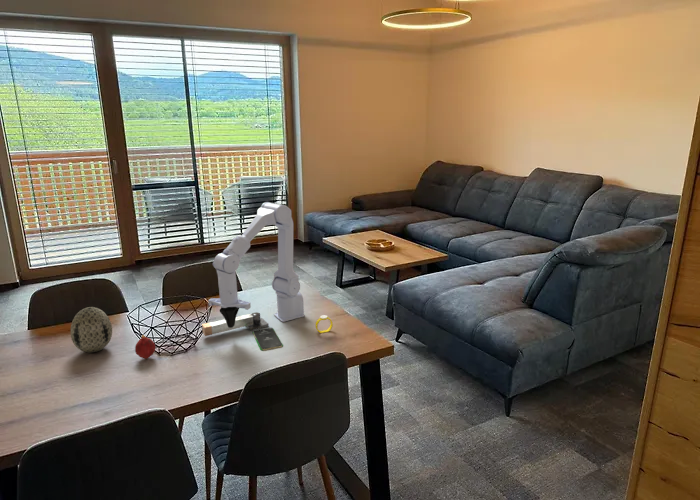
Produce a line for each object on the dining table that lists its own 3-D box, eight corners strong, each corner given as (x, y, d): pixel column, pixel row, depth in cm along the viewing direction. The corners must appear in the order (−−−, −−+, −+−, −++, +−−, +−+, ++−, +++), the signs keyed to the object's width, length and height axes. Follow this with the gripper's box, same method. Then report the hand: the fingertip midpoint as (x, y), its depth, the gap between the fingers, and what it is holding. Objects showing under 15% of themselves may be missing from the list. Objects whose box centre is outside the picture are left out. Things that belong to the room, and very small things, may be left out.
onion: (160, 355, 150) (157, 332, 147) (147, 364, 144) (144, 341, 142) (145, 352, 151) (142, 330, 149) (132, 361, 146) (129, 338, 144)
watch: (317, 335, 163) (316, 320, 161) (315, 332, 166) (313, 317, 164) (334, 331, 165) (332, 316, 164) (331, 328, 168) (329, 313, 166)
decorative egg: (96, 339, 160) (89, 299, 156) (123, 345, 157) (116, 303, 152) (65, 356, 150) (57, 312, 145) (94, 362, 146) (86, 317, 142)
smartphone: (260, 349, 152) (251, 330, 165) (261, 352, 152) (251, 333, 166) (283, 345, 155) (272, 326, 168) (283, 347, 155) (273, 329, 168)
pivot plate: (262, 320, 175) (261, 318, 174) (268, 326, 170) (268, 323, 170) (244, 325, 171) (243, 322, 171) (250, 331, 166) (250, 328, 166)
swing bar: (261, 322, 169) (261, 314, 169) (205, 336, 159) (204, 327, 159) (258, 319, 172) (258, 311, 171) (202, 332, 162) (201, 324, 161)
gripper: (201, 291, 153) (205, 329, 157) (242, 295, 149) (245, 334, 153) (213, 283, 160) (216, 320, 163) (252, 287, 156) (255, 324, 160)
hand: (231, 326), depth 159 cm, fingers closed
